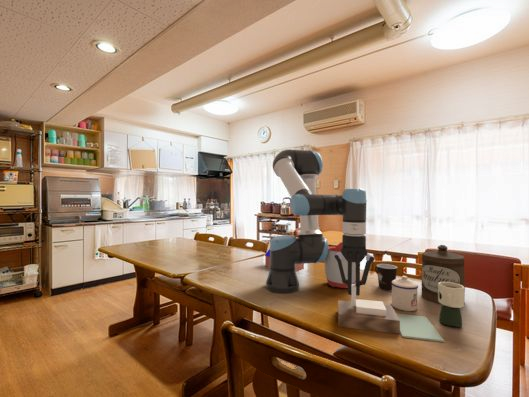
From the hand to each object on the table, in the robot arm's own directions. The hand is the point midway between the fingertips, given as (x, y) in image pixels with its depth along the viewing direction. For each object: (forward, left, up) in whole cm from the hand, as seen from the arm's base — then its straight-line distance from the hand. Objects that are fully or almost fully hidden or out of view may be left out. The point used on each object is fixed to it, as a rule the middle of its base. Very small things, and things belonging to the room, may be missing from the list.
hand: (353, 304), depth 92 cm
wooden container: (+37, +30, -6) cm, 48 cm away
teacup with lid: (+20, +18, -6) cm, 28 cm away
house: (-34, +60, -6) cm, 69 cm away
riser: (+4, 0, -5) cm, 7 cm away
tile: (+5, 0, -1) cm, 5 cm away
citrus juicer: (-3, +37, -5) cm, 38 cm away
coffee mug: (+17, +39, -6) cm, 43 cm away
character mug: (+31, +5, -6) cm, 32 cm away
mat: (+19, 0, -5) cm, 20 cm away
